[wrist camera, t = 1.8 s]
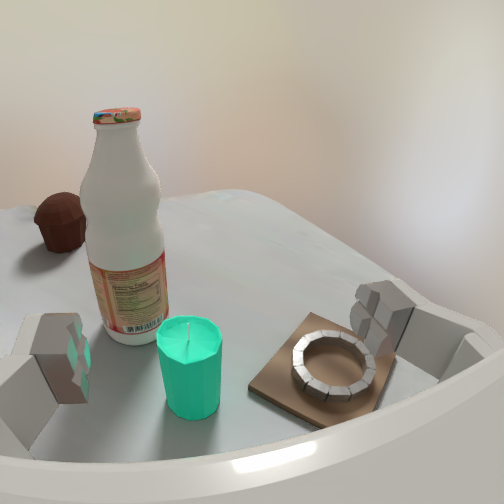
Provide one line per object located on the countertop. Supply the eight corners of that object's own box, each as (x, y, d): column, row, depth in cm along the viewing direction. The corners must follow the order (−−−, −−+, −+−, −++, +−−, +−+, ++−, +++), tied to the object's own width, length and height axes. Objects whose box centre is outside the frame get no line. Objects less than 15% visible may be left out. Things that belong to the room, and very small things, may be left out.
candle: (156, 402, 32) (139, 327, 26) (187, 369, 37) (182, 293, 31) (200, 430, 30) (195, 361, 24) (230, 393, 35) (236, 318, 28)
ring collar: (353, 416, 32) (358, 408, 31) (274, 376, 36) (276, 368, 35) (380, 358, 39) (384, 350, 38) (313, 327, 44) (315, 319, 43)
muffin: (66, 224, 64) (60, 183, 59) (102, 234, 62) (96, 188, 57) (30, 250, 54) (19, 204, 49) (65, 263, 52) (54, 213, 47)
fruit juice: (91, 330, 40) (53, 118, 25) (130, 293, 48) (115, 104, 33) (145, 358, 37) (118, 118, 23) (182, 314, 45) (180, 106, 31)
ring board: (355, 444, 29) (358, 441, 29) (247, 389, 35) (248, 384, 35) (394, 355, 41) (397, 350, 40) (309, 317, 47) (310, 312, 47)
